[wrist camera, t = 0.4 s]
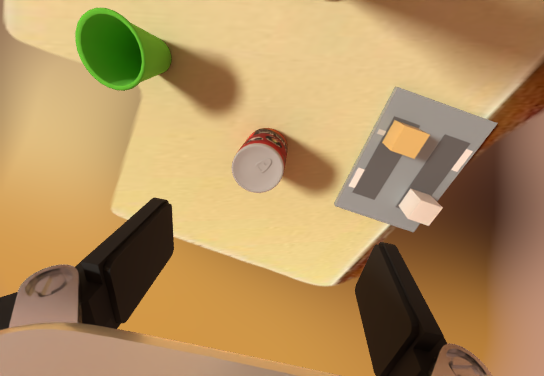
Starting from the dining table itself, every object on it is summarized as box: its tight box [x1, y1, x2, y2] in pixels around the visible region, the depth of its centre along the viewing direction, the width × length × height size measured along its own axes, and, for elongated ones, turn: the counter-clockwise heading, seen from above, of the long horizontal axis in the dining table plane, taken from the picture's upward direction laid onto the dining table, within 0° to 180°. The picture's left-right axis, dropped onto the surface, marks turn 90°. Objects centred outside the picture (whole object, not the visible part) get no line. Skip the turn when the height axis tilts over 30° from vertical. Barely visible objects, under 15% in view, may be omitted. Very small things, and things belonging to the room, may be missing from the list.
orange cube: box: [382, 120, 430, 159], centre depth 38 cm, size 4×4×4 cm
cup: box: [76, 8, 171, 91], centre depth 35 cm, size 9×9×11 cm
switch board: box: [334, 87, 497, 232], centre depth 43 cm, size 23×17×1 cm
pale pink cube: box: [399, 188, 443, 226], centre depth 43 cm, size 4×4×4 cm
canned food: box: [232, 128, 287, 193], centre depth 40 cm, size 8×8×11 cm
